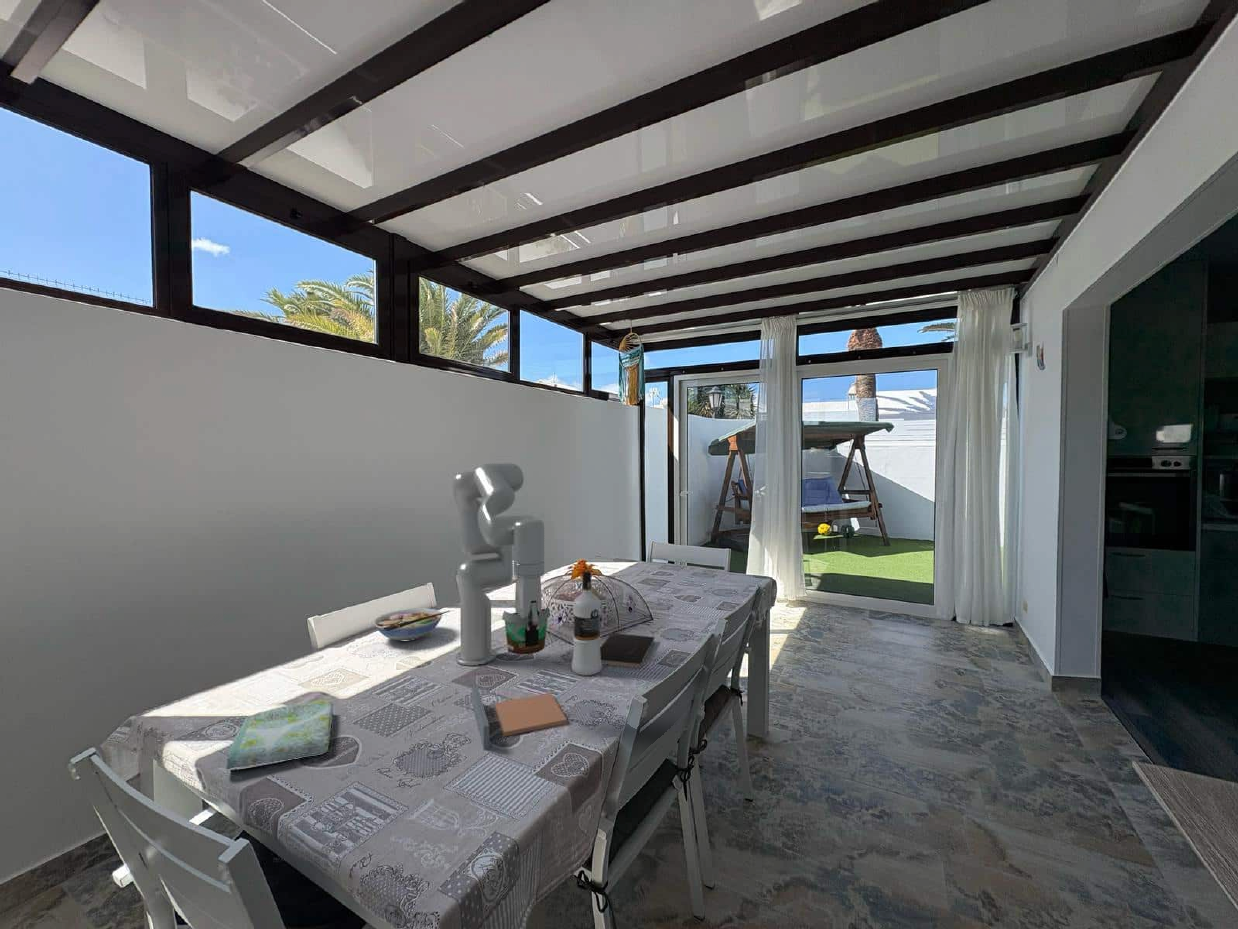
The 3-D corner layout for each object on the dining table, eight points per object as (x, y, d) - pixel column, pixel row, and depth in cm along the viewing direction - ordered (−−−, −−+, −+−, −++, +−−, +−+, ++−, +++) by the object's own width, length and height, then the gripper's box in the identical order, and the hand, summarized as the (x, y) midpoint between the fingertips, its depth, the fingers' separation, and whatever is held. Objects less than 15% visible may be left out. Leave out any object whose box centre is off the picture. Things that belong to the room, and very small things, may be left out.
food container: (508, 659, 121) (508, 617, 121) (501, 651, 126) (501, 610, 126) (557, 651, 127) (557, 611, 126) (548, 643, 132) (549, 604, 132)
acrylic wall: (472, 704, 133) (472, 685, 133) (477, 703, 133) (477, 684, 133) (483, 749, 112) (483, 726, 112) (489, 748, 113) (489, 725, 113)
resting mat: (494, 706, 131) (494, 703, 131) (550, 696, 137) (550, 692, 137) (504, 736, 117) (504, 732, 117) (566, 723, 123) (566, 719, 123)
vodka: (592, 661, 161) (592, 567, 160) (607, 671, 153) (608, 572, 152) (566, 668, 155) (566, 570, 155) (580, 679, 148) (581, 576, 147)
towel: (334, 713, 129) (334, 693, 129) (328, 758, 110) (328, 734, 110) (247, 730, 121) (247, 709, 121) (224, 781, 102) (223, 756, 102)
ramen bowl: (421, 622, 198) (421, 601, 198) (458, 634, 185) (458, 612, 185) (357, 641, 178) (357, 618, 178) (393, 656, 164) (393, 631, 164)
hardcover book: (654, 643, 178) (654, 637, 178) (640, 670, 155) (640, 662, 155) (610, 639, 182) (610, 633, 182) (590, 664, 159) (590, 657, 159)
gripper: (507, 563, 133) (507, 632, 133) (521, 578, 117) (521, 656, 118) (536, 561, 136) (536, 628, 136) (552, 575, 120) (552, 651, 121)
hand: (529, 640), depth 127 cm, fingers closed on food container, 5 cm apart
